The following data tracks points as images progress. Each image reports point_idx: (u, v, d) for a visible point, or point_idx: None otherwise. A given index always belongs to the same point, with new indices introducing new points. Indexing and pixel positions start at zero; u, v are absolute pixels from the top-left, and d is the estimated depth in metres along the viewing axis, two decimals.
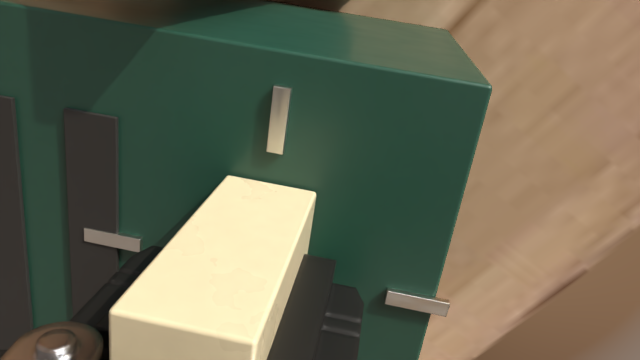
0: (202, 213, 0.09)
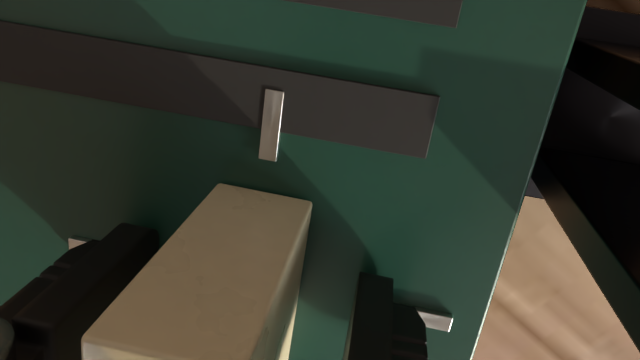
0: (189, 225, 0.09)
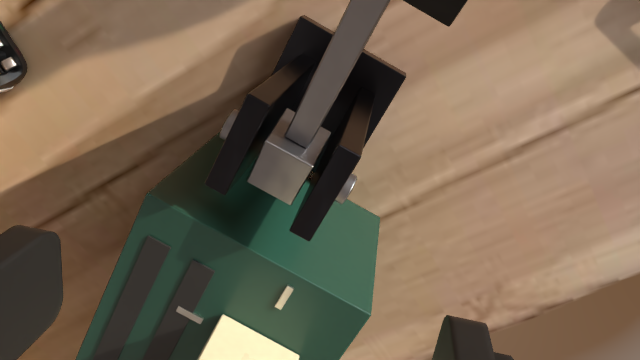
0: None
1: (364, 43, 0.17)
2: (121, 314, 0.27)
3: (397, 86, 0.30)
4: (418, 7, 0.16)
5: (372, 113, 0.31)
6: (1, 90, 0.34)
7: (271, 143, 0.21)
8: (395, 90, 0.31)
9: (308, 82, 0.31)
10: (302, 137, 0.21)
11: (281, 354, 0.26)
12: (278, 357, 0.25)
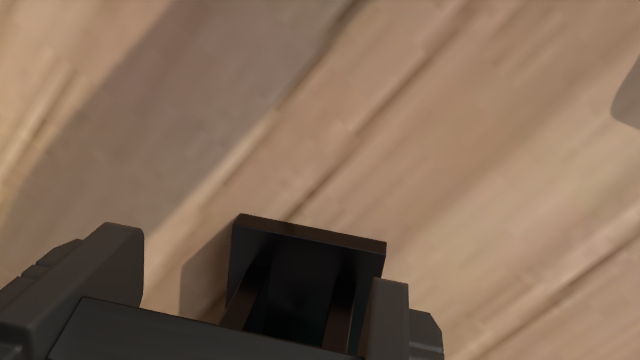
0: None
1: None
2: None
3: (379, 268, 0.23)
4: None
5: (361, 305, 0.24)
6: None
7: None
8: (378, 273, 0.23)
9: (271, 291, 0.25)
10: None
11: None
12: None
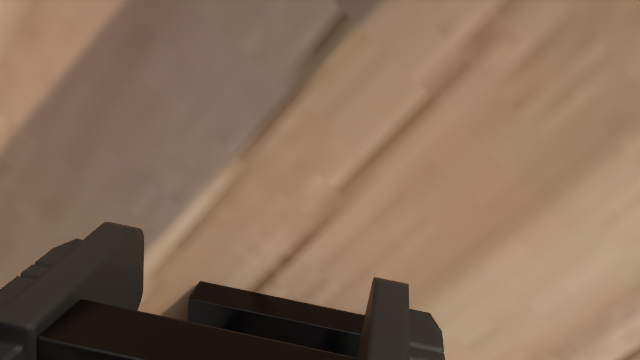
0: None
1: None
2: None
3: None
4: None
5: None
6: None
7: None
8: None
9: None
10: None
11: None
12: None
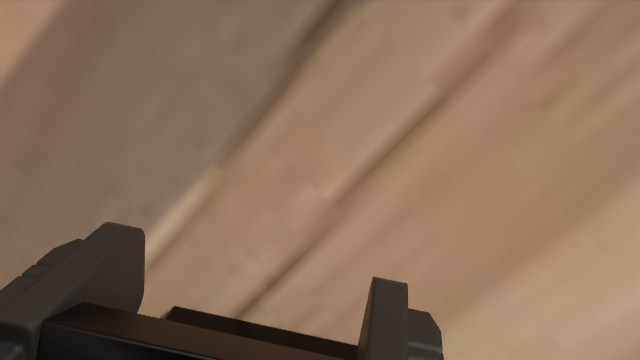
0: None
1: None
2: None
3: None
4: None
5: None
6: None
7: None
8: None
9: None
10: None
11: None
12: None
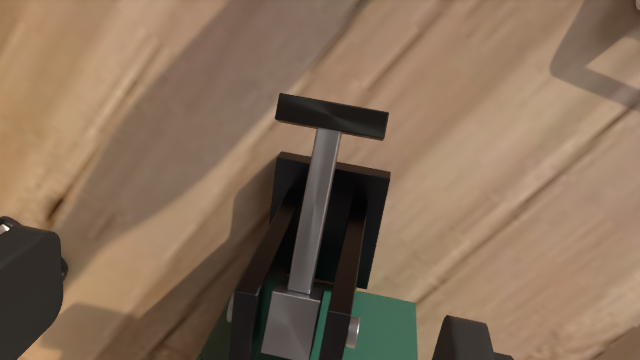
0: None
1: (331, 174, 0.23)
2: None
3: (385, 189, 0.32)
4: (359, 133, 0.23)
5: (371, 218, 0.33)
6: None
7: (278, 292, 0.23)
8: (384, 193, 0.32)
9: None
10: (302, 282, 0.24)
11: None
12: None
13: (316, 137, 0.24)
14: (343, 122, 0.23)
